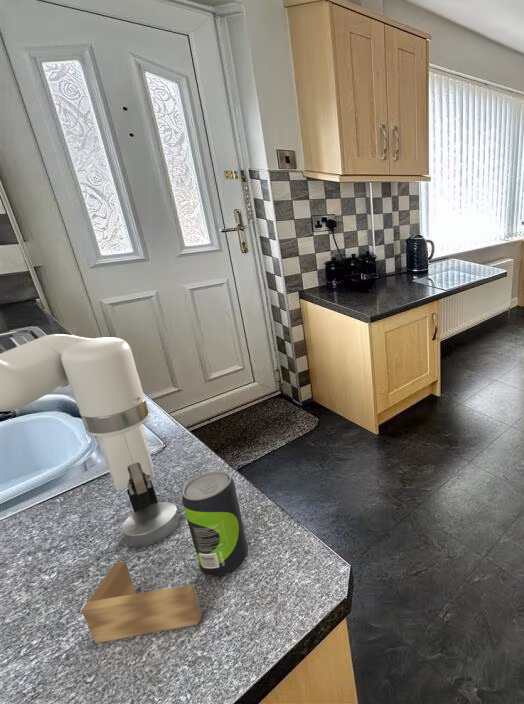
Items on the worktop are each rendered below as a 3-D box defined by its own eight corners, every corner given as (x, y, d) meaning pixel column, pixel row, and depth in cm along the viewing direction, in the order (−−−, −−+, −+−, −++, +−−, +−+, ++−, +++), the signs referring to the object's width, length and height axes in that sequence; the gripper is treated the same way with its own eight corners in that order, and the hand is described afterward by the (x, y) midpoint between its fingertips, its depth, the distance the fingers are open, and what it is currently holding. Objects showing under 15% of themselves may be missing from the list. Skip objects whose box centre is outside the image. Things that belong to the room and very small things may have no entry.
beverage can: (256, 559, 66) (240, 482, 61) (210, 587, 61) (189, 507, 56) (239, 537, 69) (222, 463, 64) (194, 563, 65) (173, 485, 60)
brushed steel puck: (115, 550, 66) (111, 538, 65) (139, 516, 72) (136, 505, 71) (167, 543, 68) (164, 531, 67) (187, 510, 74) (184, 499, 73)
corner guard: (95, 643, 54) (81, 610, 52) (126, 593, 60) (114, 562, 58) (198, 624, 56) (189, 592, 54) (218, 578, 63) (210, 548, 61)
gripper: (78, 405, 68) (110, 494, 75) (89, 446, 59) (124, 544, 65) (138, 389, 74) (163, 474, 80) (156, 425, 64) (183, 517, 71)
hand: (145, 505), depth 73 cm, fingers closed
